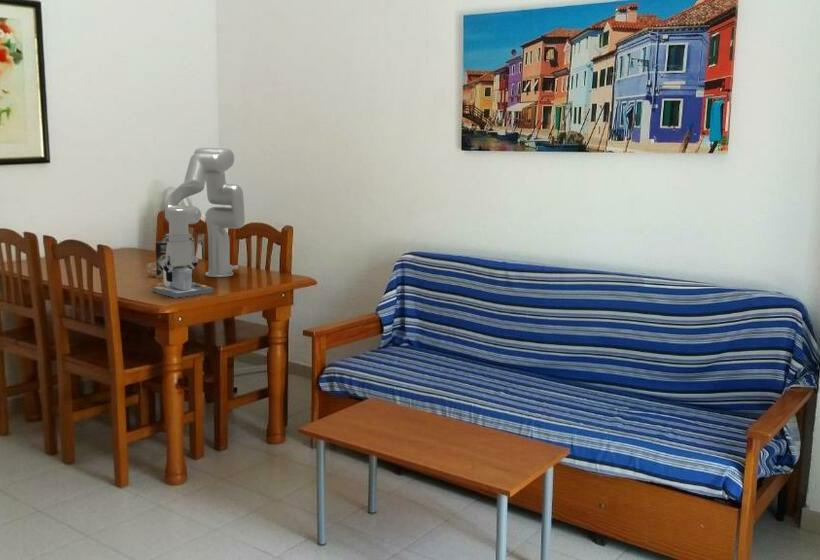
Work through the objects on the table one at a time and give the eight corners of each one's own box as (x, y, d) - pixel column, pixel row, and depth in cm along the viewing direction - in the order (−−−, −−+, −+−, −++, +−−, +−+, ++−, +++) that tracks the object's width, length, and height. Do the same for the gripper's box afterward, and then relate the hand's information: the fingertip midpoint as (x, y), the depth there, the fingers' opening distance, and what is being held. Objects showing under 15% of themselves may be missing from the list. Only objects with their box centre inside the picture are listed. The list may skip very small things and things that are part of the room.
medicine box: (191, 289, 330) (193, 269, 328) (183, 291, 327) (184, 270, 324) (178, 284, 334) (179, 264, 332) (169, 286, 331) (171, 265, 328)
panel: (190, 286, 347) (189, 279, 347) (213, 292, 336) (212, 285, 335) (152, 291, 334) (152, 284, 333) (174, 298, 323) (174, 290, 322)
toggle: (172, 284, 339) (171, 266, 337) (178, 286, 335) (178, 267, 334) (163, 285, 336) (163, 267, 334) (170, 287, 333) (169, 268, 331)
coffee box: (156, 278, 363) (155, 242, 360) (156, 275, 369) (155, 240, 366) (177, 277, 365) (176, 242, 362) (177, 275, 371) (176, 240, 368)
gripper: (192, 235, 335) (193, 276, 338) (154, 239, 323) (156, 281, 326) (202, 237, 330) (203, 278, 334) (165, 241, 318) (166, 284, 321)
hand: (180, 280), depth 330 cm, fingers open, 9 cm apart
